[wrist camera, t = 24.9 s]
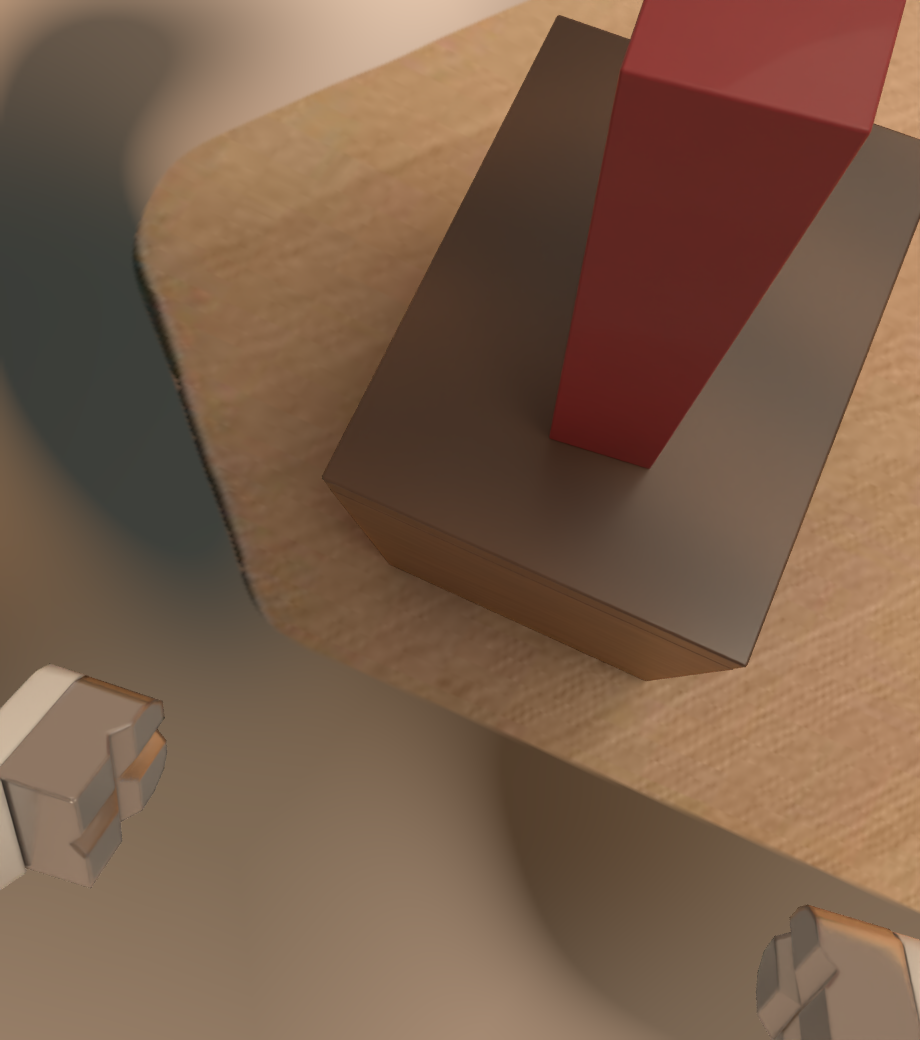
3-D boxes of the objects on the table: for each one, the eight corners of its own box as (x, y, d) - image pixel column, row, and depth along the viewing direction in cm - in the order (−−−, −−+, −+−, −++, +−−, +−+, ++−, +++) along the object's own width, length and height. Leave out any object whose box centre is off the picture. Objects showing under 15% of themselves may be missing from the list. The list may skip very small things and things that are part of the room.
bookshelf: (646, 681, 34) (747, 668, 20) (388, 564, 35) (320, 477, 22) (780, 353, 37) (948, 147, 23) (536, 258, 38) (558, 12, 25)
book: (650, 469, 21) (872, 132, 9) (548, 439, 22) (619, 69, 9) (737, 180, 23) (1028, -453, 10) (642, 155, 23) (812, -490, 11)
